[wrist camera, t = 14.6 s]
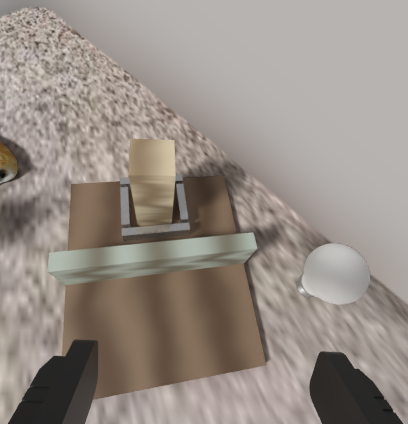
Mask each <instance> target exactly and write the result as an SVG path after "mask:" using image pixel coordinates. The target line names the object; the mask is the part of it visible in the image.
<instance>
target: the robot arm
mask: <svg viewBox="0 0 408 424" xmlns="http://www.w3.org/2000/svg"><path fill="white" fill-rule="evenodd" d="M97 380H98V341H97V340H78V339H75V340H74V341H73V342H72V344H71V346H70V348H69V350H68V352H67V354H66V356H53V357H52V358H51V359H50V360H49V361H48V362H47V363H46V364H45V365H44V366H42V367H41V368H40V369H39V371H38V373H37V374H36V376H35V378H34V380H33V381H32V383H31V385H30V388H29V389H28V390H27V392H26V393H25V395H24V397H23V399H22V402H21V403H20V404H19V405H18V407H17V409H16V411H15V412H14V414H13V416H12V418H11V419H10V421H9V423H8V424H85V422H86V419H87V416H88V413H89V410H90V407H91V403H92V400H93V397H94V394H95V390H96V386H97ZM310 396H311V399H312V402H313V404H314V407H315V409H316V411H317V413H318V416H319V418H320V420H321V422H322V424H403V423H402V421H401V420H400V419H399V417H398V416H397V415H396V413H394V412H393V409H392V408H391V406H390V405H389V403H388V402H387V401H386V400H384V396H383V395H382V394H381V392H380V391H379V389H378V388H377V387H376V385H375V384H374V382H373V381H372V380H370V379H369V378H368V377H367V376H366V375H365V374H364V373H363V372H362V371H360V370H359V369H355V368H354V367H353V365H352V364H351V363H350V361H349V360H348V358H347V357H346V355H345V354H343V353H341V352H320V353H319V355H318V358H317V361H316V364H315V367H314V371H313V374H312V377H311V380H310Z"/></svg>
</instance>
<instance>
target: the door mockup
mask: <svg viewBox="0 0 408 424" xmlns="http://www.w3.org/2000/svg"><path fill="white" fill-rule="evenodd" d="M182 179H183V183H182V184H183V185H184V192H185V199H186V206H187V213H188V223H189V226H190V232H189V235H186V236H176V237H166V238H156V239H145V240H135V241H125V242H124V241H123V238H122V224H121V195H120V187H121V186H120V181H119V182H102V183H84V184H71V200H70V219H69V237H68V251H62V252H52V253H49V262H48V273H50V274H51V275H52V276H54V277H55V278H57V279H58V280H59V281H61V282H62V283H64V284H65V285H66V293H65V312H64V331H63V349H62V356H66V354H67V352H68V350H69V348H70V346H71V344H72V342H73V341H74V340H75V339H78V340H97V341H98V380H97V386H96V390H95V394H94V397H93V399H98V398H103V397H108V396H113V395H118V394H123V393H128V392H133V391H138V390H143V389H149V388H154V387H159V386H164V385H169V384H174V383H179V382H184V381H189V380H194V379H199V378H204V377H209V376H214V375H219V374H224V373H229V372H234V371H239V370H244V369H249V368H254V367H259V366H264V365H266V361H265V357H264V352H263V348H262V343H261V339H260V334H259V330H258V325H257V321H256V316H255V312H254V307H253V303H252V299H251V294H250V290H249V285H248V281H247V276H246V272H245V267H244V263H245V262H246V260H247V259H248V258H249V257H250V256H251V255H252V254H253V253H254V252H255V251H256V250H257V245H256V241H255V237H254V233H253V232H252V233H242V234H237V232H236V227H235V223H234V218H233V214H232V209H231V205H230V200H229V196H228V191H227V187H226V183H225V178H224V175H223V176H206V177H189V178H182ZM175 190H176V188H175V189H174V201H173V213H172V224H177V223H180V222H179V215H178V207H177V200H176V192H175ZM129 196H130V216H131V228H132V227H144V226H138V225H137V219H136V213H135V208H134V202H133V197H132V191H129ZM150 226H155V225H150Z"/></svg>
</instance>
